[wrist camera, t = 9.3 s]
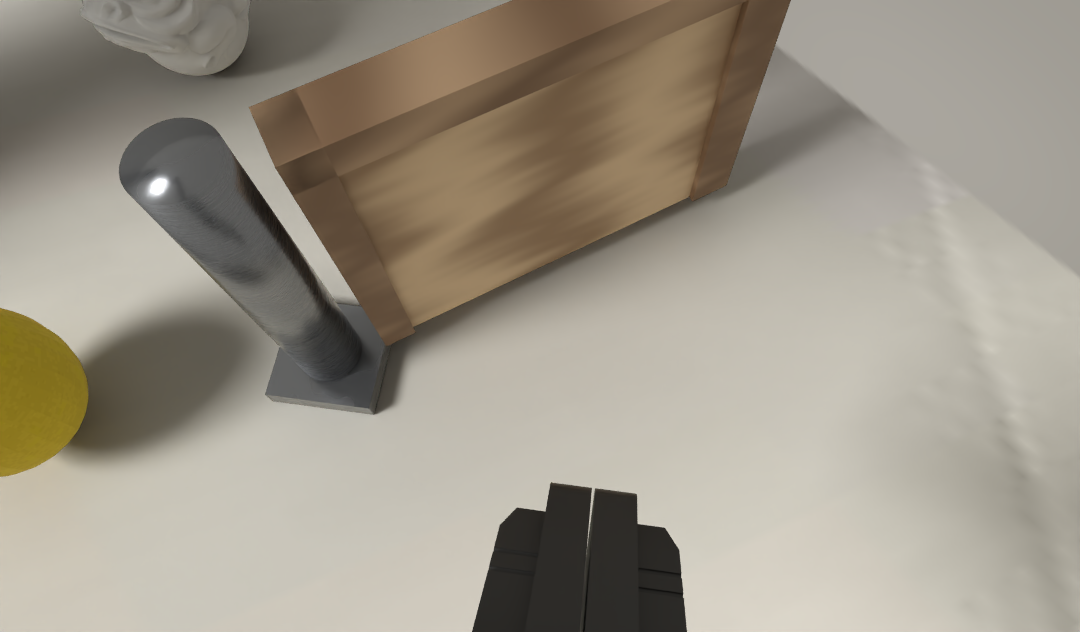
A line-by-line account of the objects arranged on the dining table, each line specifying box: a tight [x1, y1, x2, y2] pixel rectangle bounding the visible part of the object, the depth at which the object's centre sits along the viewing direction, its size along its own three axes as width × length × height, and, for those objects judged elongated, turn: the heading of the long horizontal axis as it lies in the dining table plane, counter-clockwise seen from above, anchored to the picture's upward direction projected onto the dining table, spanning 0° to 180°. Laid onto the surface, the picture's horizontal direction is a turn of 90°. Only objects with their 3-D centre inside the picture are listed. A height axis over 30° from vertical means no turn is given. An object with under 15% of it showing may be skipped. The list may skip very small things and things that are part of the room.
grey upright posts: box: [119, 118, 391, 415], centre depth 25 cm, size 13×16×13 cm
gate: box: [249, 0, 791, 346], centre depth 24 cm, size 15×2×11 cm, turn 117°
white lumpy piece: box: [80, 0, 251, 76], centre depth 32 cm, size 6×7×7 cm
